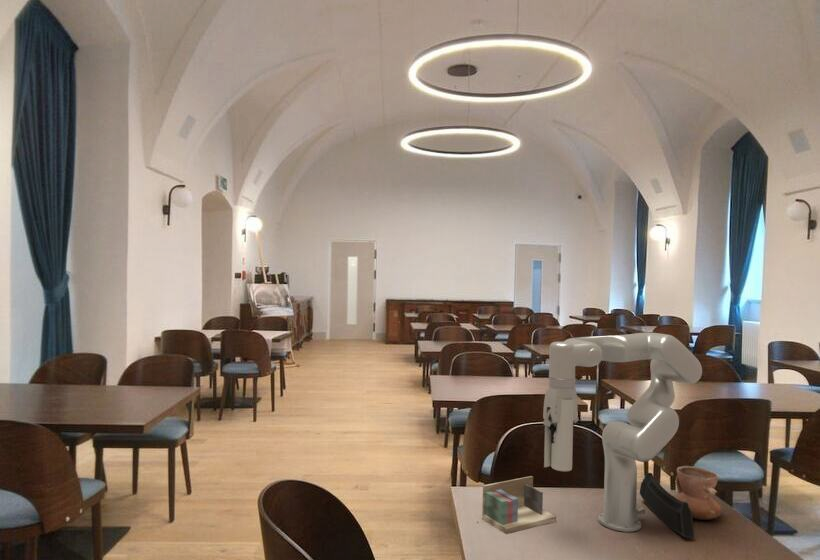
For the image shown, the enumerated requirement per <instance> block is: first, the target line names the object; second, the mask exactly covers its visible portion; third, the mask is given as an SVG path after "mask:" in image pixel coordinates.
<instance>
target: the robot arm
mask: <svg viewBox="0 0 820 560" xmlns="http://www.w3.org/2000/svg"><path fill="white" fill-rule="evenodd" d="M548 354H549V355H548V356H549V357H548V358H549V362H548V364H549V365H548V387H546V390H545V394H544V401H543V414H542V417H543V419H544V420H543V422H542V424H543V425H544V427H545V426H547V427H548V428H549V429H550V431H551V444H552V443H554V441H553V439H554V437H553V435H554V433H557V423H559V422H560V416H561V400H565V399H572V398H573V399H574V405H573V427H574V426H575V425H576V423H577V422H578V421H580V419H579V416H578V413H579V412H578V411H579V410H578V405H579V404H578V395H577V389H576V382H577V379H576V367H586V368H587V367H588V368H592V367H595V366H597V365H599V364H601V362H602V361H603V362H611V363H626V362H627V363H628V362H635V361H643V360H650V365H649V366H650V368H649V369H650V384H649V386H648V388H647V389H646V390H645V391H644V392H643V393H642V395H641V396H639V397H638V398H637V400H636V401H635V402H634V403H633V404H632V405H631V406H630V407H629V409H628V410H627V412H626V419H627V421H628V423H626V422H625V421H624V422H623V421H617V420H615V421H610V422H609V423H607V424H606V425H605V426H604V428H603V430H602V435H601V441H602V442H601V443H602V448H603V454H604V479H603V480H604V483H603V484H604V485H603V486H604V488H603V512H601V513H600V514H599V515H598V518H597V519H598V522H599V523H600V524H601V525H602V526H604V527H606V528H608V529H610V530H613V531H616V532H617V531H618V532H625V533H626V532H629V533H630V532H631V533H632V532H636V531H639V530H640V529H641V528H642V522H641V520H640V519H639V516H640V515H643V514H645V513H646V509H645V508H644V507H642V506H641V507H638V508H637V490H638V489H637V487H638V485H637V482H638V467H637V462H636V461H638V462H641V463H646V462H649V461H651V460H654V458H655V457H656V456H657V455H659V453H660V452H661V451H662V450H663V448H664V447H665V446H666V445H667V444H668V443H669V442H670V441H671V440H672V439H673V438H674V436H675V434H676V433H677V432H678V429H679V426H680V418H679V414H678V413H677V411H676V410H675V409H674V408H672V407H671V406H672V405H673V404H674V401H675V397H676V395H675V387H674V382H677V383H682V384H685V385H686V384H687V385H691V384H696V383H697V382H699V380H700V379H701V377H702V375H703V367H702V364H701V363H700V361H699V360H698V358H697V357H696V356H695V355H694V354H693V352H691V351H690V350H689V348H687V347H686V346H685V345H684V344H683V343H682V342H681V341H680V340H679V339H678V338H677V337H675V336H674V335H671V334H666V333H660V332H659V333H658V332H650V331H649V332H637V333H636V332H635V333H630V334H619V335H615V334H614V335H600V336H599V335H598V336H596V335H595V336H581V337H580V336H579V337H572V338H571V337H569V338H567V339H565V340H563V341H553V342H551V343H550V344H549V353H548ZM550 420H551V421H550ZM553 424H556V425H555V426H554V425H553Z"/></svg>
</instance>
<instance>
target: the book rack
mask: <svg viewBox="0 0 820 560" xmlns="http://www.w3.org/2000/svg"><path fill="white" fill-rule="evenodd" d="M543 495H544V492H543V491H541V490H540V489H536V488H534V476H532V475H530V476H524V477H520V478H519V477H518V478H514V479H509V480H504V481H499V482H494V483H493V482H492V483H488V484H483V485H482V512H481V513H482V516H481V518H482V520H484V521H485V522H487V523H488V524H490V525H492V526H493V527H495V528H496V529H498V530H499V531H501V532H503V533H504V534H505V535H507V534H511V533H517V532H520V531H523V530H527V529H530V528H531V529H532V528H536V527H538V526H544V525H546V524H552V523H555V522H557V516H556V515H555V514H552V513H551V512H549V511H547V510H545V509H543V504H544V503H543V501H544V500H543V497H544V496H543Z"/></svg>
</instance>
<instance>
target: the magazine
mask: <svg viewBox="0 0 820 560" xmlns="http://www.w3.org/2000/svg"><path fill="white" fill-rule="evenodd" d="M639 495H640V496H641V498H642V499H643V500H644V502H645V503H646V505H647V506H648V508H649V509H650V511H651V512H653V514H654V515H655V516H656V517H657V518H658V519H659V520H660V521H661V522H662V523H663V524H664V525H665V526H667V527H668V528H669V529H671V530H672V531H673V532H675V533H678V534H679V535H681V536H682V537H683V538H687V539H692V538H695V531H694V522H693V518H692V512H691V510H690V508H689V505H688V503H686V502H682V501H680V500H678V499H676V498H675V497H674V496H675V495H672V494H671V493H669V492H668V491H667V490H666V489H665V488H664V487H663V486H662V485H661V484H660V483H659V482H658V481H657V479H656V478H655V477H654V475H653V473H652V472H646V475H645V477H643V479H642V481H641V483H640V488H639Z"/></svg>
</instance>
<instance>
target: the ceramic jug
mask: <svg viewBox="0 0 820 560" xmlns="http://www.w3.org/2000/svg"><path fill="white" fill-rule="evenodd" d="M676 474H677V475H676V479H675V485H676V489H677V493H678V494H677V493H676V495H673V496H674V497H675V498H676V499H678V500H680V501H682V502H686V503H688V505H689V508H690V510H691V512H692V519H694V520H701V521H709V520H714V519H717V518H718V517H720V516H721V514H722V506H721V505H720V504H719V502H717V501H716V500H715V499H714V498H713V497H712V495H714V494H715V493H716V494H717V493H718V491H717V490H716V489H715V488H716V486H717V484H718V480H719V475H718V474H717V473H716V472H714V471H711V470H708V469H704V468H702V467H701V468H700V467H696V466H689V465H683V466H678V467H677V468H676Z"/></svg>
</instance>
